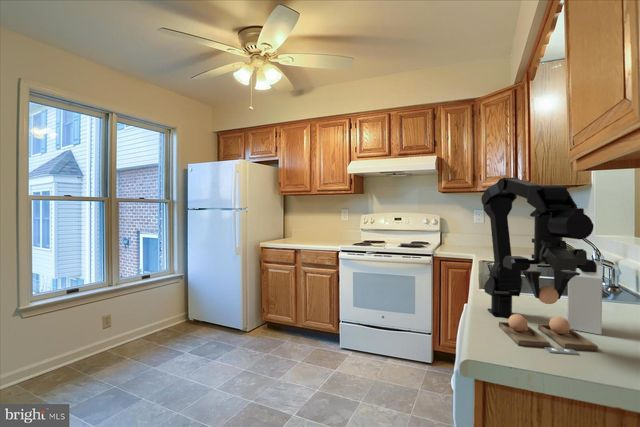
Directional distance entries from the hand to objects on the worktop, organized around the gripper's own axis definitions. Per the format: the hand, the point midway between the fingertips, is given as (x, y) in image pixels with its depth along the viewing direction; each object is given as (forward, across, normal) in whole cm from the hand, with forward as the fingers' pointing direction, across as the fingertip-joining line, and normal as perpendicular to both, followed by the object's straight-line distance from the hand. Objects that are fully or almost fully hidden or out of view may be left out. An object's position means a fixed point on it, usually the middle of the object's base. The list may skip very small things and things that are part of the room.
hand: (547, 298), depth 80 cm
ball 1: (+8, -4, +6) cm, 11 cm away
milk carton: (+11, +15, +12) cm, 22 cm away
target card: (+11, 0, -5) cm, 12 cm away
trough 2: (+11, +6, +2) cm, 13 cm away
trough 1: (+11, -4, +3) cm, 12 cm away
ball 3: (+8, +6, +5) cm, 11 cm away
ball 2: (-1, 0, 0) cm, 1 cm away
